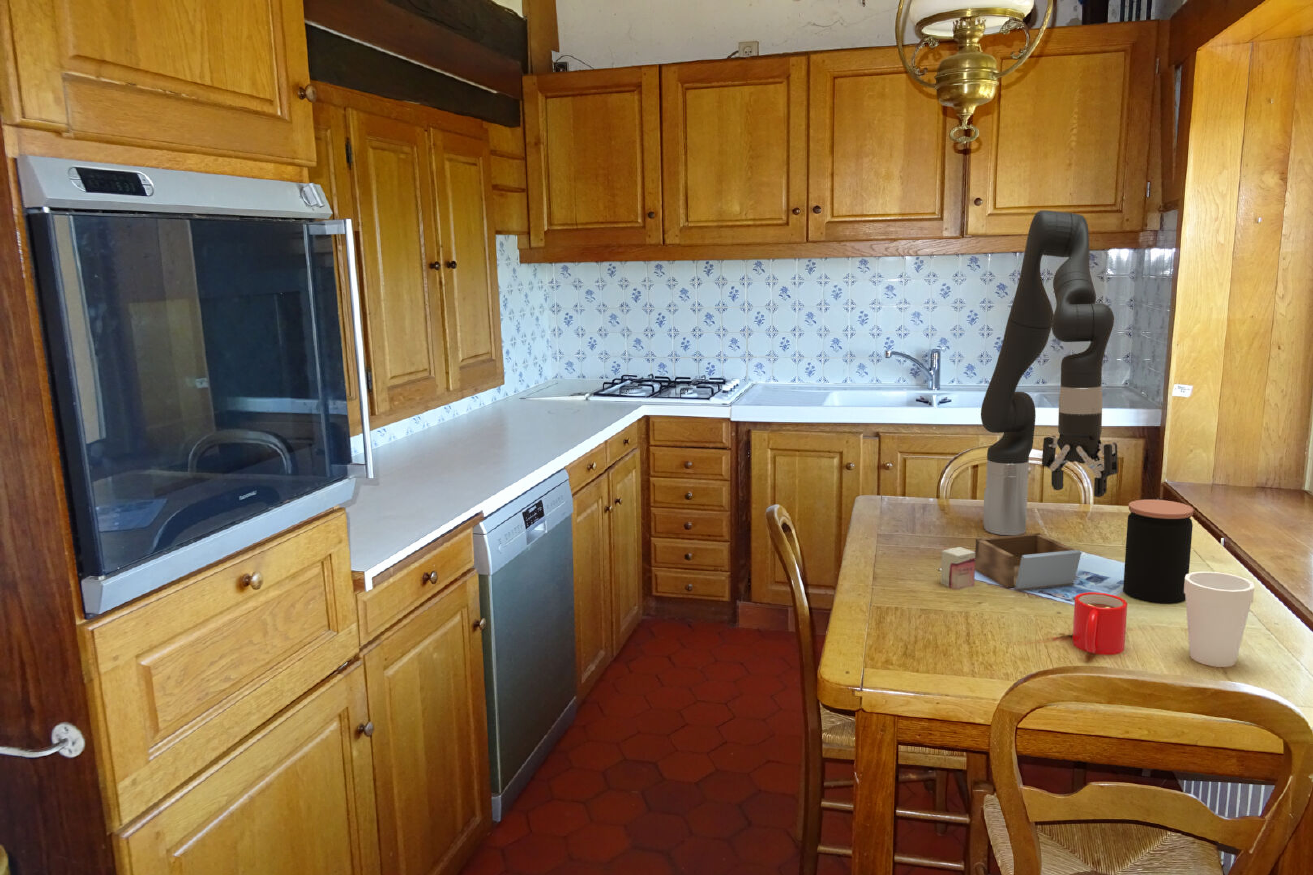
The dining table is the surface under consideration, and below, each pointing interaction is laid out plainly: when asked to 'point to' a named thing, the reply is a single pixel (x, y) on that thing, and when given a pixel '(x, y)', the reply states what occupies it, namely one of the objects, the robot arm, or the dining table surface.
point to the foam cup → (1216, 615)
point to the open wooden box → (1010, 555)
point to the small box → (957, 568)
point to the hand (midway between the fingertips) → (1078, 492)
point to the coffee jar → (1157, 551)
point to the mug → (1099, 623)
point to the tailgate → (1047, 570)
